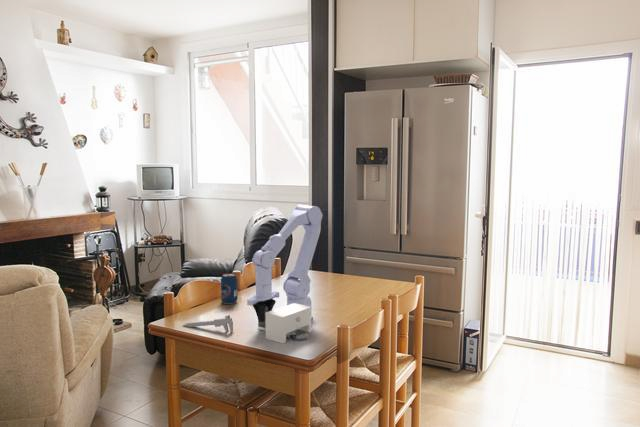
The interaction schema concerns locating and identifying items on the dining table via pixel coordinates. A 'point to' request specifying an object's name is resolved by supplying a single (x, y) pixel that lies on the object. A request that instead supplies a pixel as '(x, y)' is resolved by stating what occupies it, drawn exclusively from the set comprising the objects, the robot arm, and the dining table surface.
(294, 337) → the token
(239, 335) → the dining table surface
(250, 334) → the dining table surface
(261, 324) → the grey piece
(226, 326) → the caliper
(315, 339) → the dining table surface
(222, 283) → the soda can
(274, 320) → the cabinet
